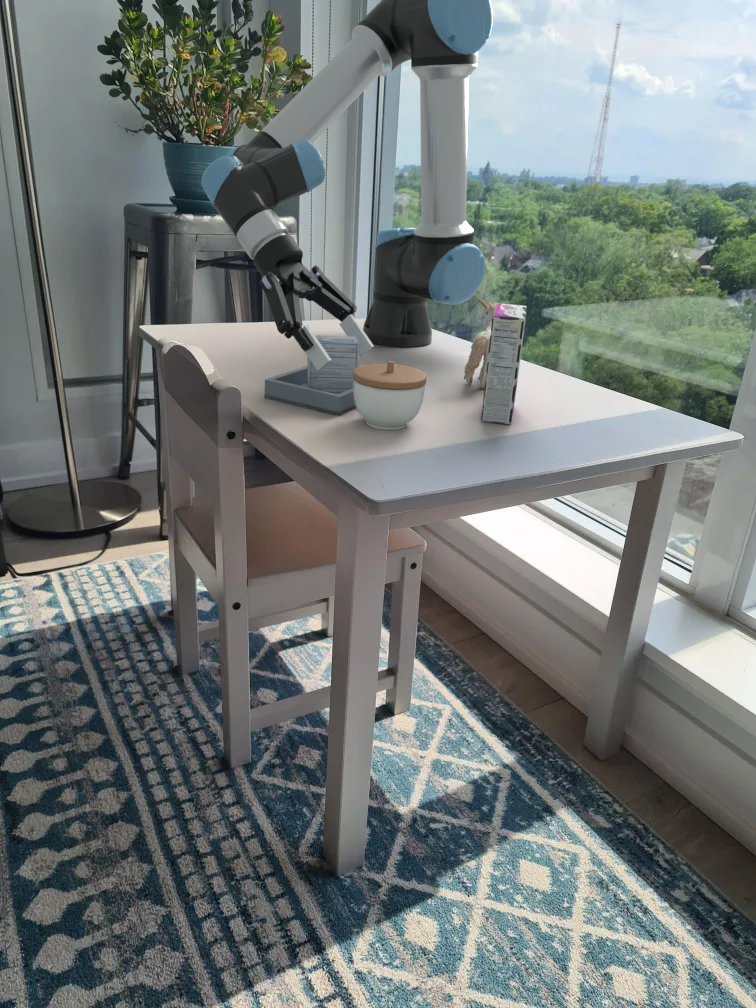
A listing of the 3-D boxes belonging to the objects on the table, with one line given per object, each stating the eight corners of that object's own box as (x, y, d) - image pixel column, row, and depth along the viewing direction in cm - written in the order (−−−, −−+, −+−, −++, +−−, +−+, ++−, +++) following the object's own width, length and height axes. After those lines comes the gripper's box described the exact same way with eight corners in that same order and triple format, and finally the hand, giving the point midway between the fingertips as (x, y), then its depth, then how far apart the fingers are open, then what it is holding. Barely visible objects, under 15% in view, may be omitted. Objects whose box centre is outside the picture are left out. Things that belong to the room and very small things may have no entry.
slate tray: (327, 375, 136) (327, 359, 135) (395, 391, 130) (397, 373, 129) (264, 397, 122) (264, 379, 121) (338, 416, 116) (339, 396, 115)
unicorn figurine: (504, 369, 149) (514, 299, 144) (503, 397, 131) (514, 318, 126) (467, 366, 150) (475, 296, 144) (461, 392, 132) (470, 314, 127)
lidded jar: (399, 440, 108) (404, 375, 104) (336, 424, 112) (339, 361, 109) (434, 422, 116) (440, 361, 112) (374, 408, 121) (378, 349, 117)
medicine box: (353, 387, 128) (356, 336, 125) (356, 395, 124) (359, 342, 121) (306, 386, 127) (307, 334, 124) (308, 394, 123) (309, 340, 120)
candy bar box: (483, 402, 128) (496, 302, 121) (514, 405, 127) (528, 305, 120) (478, 422, 118) (491, 314, 111) (511, 426, 117) (526, 317, 110)
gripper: (301, 257, 135) (370, 358, 134) (207, 269, 115) (288, 386, 115) (327, 228, 130) (399, 332, 130) (234, 235, 111) (318, 357, 110)
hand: (347, 358), depth 122 cm, fingers open, 12 cm apart
